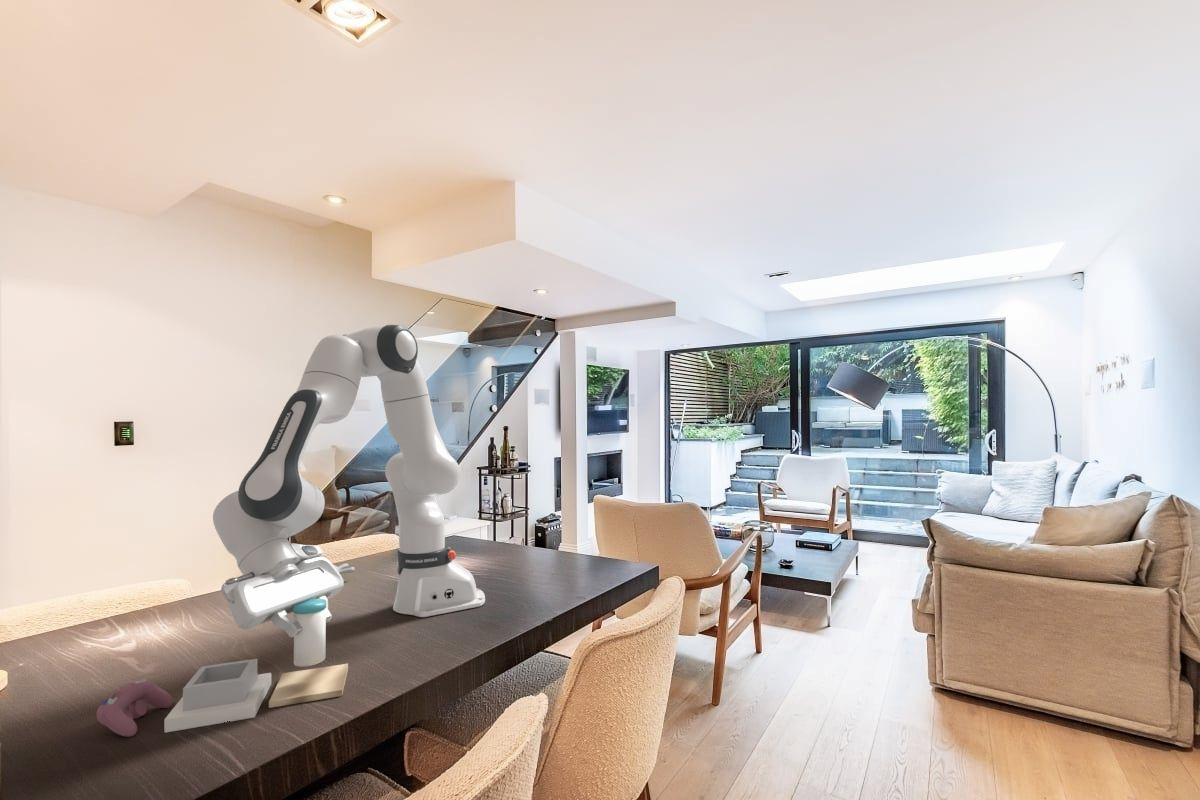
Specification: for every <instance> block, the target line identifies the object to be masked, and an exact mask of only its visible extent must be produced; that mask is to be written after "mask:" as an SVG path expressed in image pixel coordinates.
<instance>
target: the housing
mask: <svg viewBox="0 0 1200 800" xmlns="http://www.w3.org/2000/svg"><path fill="white" fill-rule="evenodd" d="M271 686H272V672H267V673H258V658H252V659H246V660H239V661H231V662H224V663H217V664H216V663H215V664H211V665H203V666H200V668H198V669H197V671H196V672H195V674H194V675H193V676H192V677H191V678H190V680H189V681H187V683H186V685H185V686H184V687H183V688H182V697H181V698H180V699H179V701H178V702H177V703H176V704H175V706H174V707H173V708H172V709H171V710H170V712H169V713H168V714H167V716H166V717H164V724H163V725H164V726H163V727H164V733H170V732H171V733H172V732H176V731H183V730H187V729H189V730H190V729H194V728H199V727H206V726H212V725H216V724H217V725H218V724H223V723H224V722H225V723H229V721H230V722H234V721H235V722H236V721H242V720H247V719H253V718H256V716H257V713H258V711H259V710H260V707H261V705H262V704H263V702H264V699H265V697H266V695H267V694H268V692H269V690H270V688H271ZM227 721H228V722H227Z"/></svg>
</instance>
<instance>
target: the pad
mask: <svg viewBox="0 0 1200 800" xmlns="http://www.w3.org/2000/svg"><path fill="white" fill-rule="evenodd" d="M348 671H349V663H342V664H337V665H330V666H322V667H316V668H309V669H303V670H295V671H289V672H282V673H281V676H280V678H279V680H278V682H277V684H276V687H275V689H274V690H273V692H272V694H271V697H270V698H269V701H268V709H271V708H277V707H283V706H284V707H285V706H289V705H295V704H301V703H307V702H313V701H318V700H325V699H330V698H331V699H332V698H336V697H343V693H344V690H345V685H346V680H347V675H348Z"/></svg>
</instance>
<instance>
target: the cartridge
mask: <svg viewBox="0 0 1200 800" xmlns="http://www.w3.org/2000/svg"><path fill="white" fill-rule="evenodd" d="M292 613H293V622H297V621H298V622H299V623H300V626H302V631H301V632H300V633H299V634H298V635H296V636H294V637H293V665H294V666H296V667H304V668H305V667H311V666H315V665H317V664H319V663H322V662H324V661H325V659H326V655H327V654H326V652H327V650H326V647H327V646H326V645H327V643H326V641H327V640H326V639H327V637H326V635H327V634H326V632H327V631H326V630H327V629H326V628H327V627H326V625H327V624H326V600H325V599H310V600H307V601H304V602H301V603H299V604H296V605H293V612H292Z"/></svg>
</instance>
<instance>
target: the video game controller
mask: <svg viewBox="0 0 1200 800" xmlns="http://www.w3.org/2000/svg"><path fill="white" fill-rule="evenodd" d="M173 703H174V700H173V697H172V695H171V694H170V693H169V692H168V691H166V690H164V689H162V688H160V687H159V686H158V685H156V684H155V683H154V682H153V681H150V680H147V679H145V678H143V679H141V680H138V681H137V680H136V681H133V682H129V683H127V684H125V685H123V686H121V687H119V688H118V689H116V690H115V691H114V692H112V693H111V694H110V695H109V696H108V697H107V698H106V699H105V700H104V701H103V703H101V704H100V705H99V706H98V708H97V709H96V718H97V721H98V722H99V723H100V725H102V726H105V727H107V729H109V730H110V731H111V732H113V733H115V734H116V735H119V736H122V737H125V738H126V737H127V738H129V737H134V736H135V735H136V733H137V731H138V725H137V723H136V721H135V720H134V719H138V718H141V717H143V716H144V715H145V714H147V711H148V705H147V704H149V705H152V706H154V707H156V708H160V709H168V708H169V709H170V707H171V706H172V705H173ZM128 706H129V707H128ZM127 707H128V710H127V709H126V708H127Z"/></svg>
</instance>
